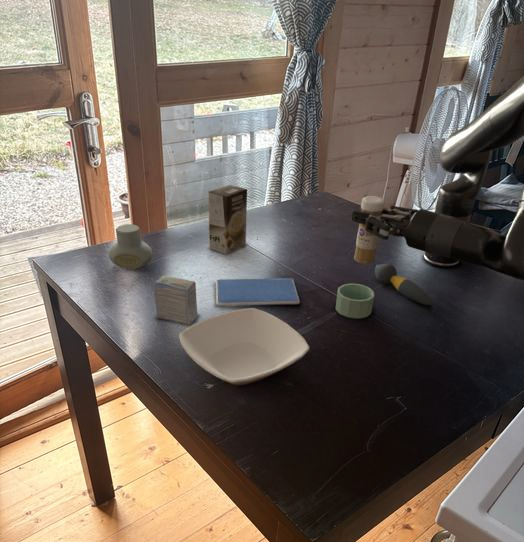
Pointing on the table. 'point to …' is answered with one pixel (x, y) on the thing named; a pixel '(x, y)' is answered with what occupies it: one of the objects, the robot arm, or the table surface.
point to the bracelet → (354, 300)
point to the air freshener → (130, 248)
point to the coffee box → (227, 218)
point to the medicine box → (175, 299)
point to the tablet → (256, 292)
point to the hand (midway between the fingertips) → (359, 212)
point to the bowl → (243, 345)
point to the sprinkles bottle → (365, 239)
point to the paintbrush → (401, 284)
